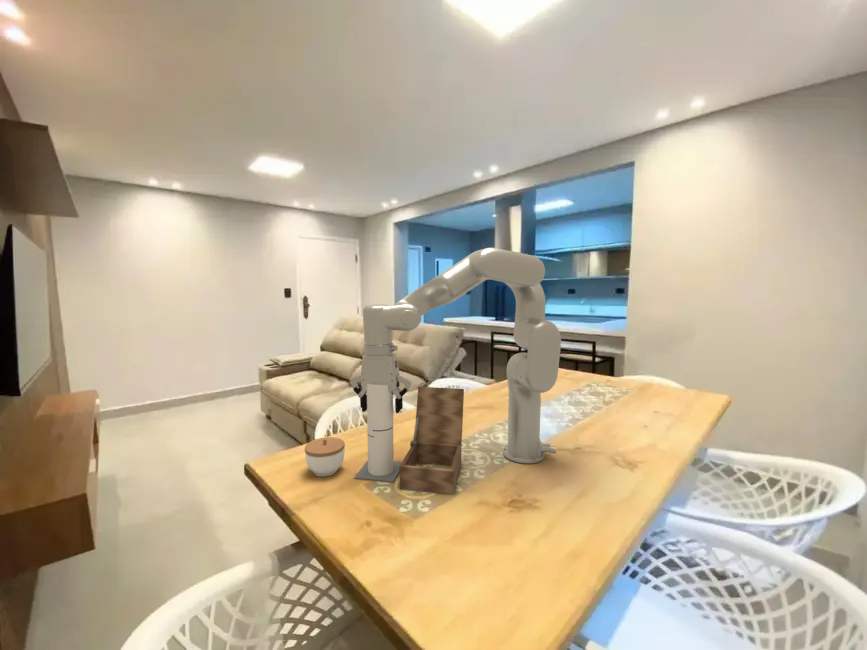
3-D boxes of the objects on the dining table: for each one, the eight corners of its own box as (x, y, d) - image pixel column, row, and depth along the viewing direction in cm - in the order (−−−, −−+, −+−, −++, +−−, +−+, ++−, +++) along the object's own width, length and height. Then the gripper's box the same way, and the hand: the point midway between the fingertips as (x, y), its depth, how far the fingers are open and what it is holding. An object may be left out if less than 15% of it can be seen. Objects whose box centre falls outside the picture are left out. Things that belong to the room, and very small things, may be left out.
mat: (404, 463, 109) (404, 462, 109) (393, 482, 98) (393, 481, 98) (368, 460, 111) (368, 459, 111) (354, 478, 100) (354, 477, 100)
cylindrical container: (389, 477, 100) (388, 386, 98) (364, 474, 102) (362, 385, 99) (396, 464, 107) (396, 380, 105) (373, 462, 109) (372, 378, 106)
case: (463, 455, 114) (464, 388, 112) (453, 494, 93) (454, 412, 91) (418, 451, 117) (417, 385, 115) (398, 488, 95) (397, 408, 93)
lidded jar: (304, 466, 107) (303, 435, 106) (341, 459, 112) (341, 429, 111) (307, 484, 98) (306, 450, 97) (348, 476, 102) (347, 443, 101)
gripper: (412, 347, 103) (415, 407, 105) (354, 347, 107) (357, 405, 108) (405, 352, 96) (408, 416, 98) (343, 352, 99) (346, 414, 101)
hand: (381, 410), depth 103 cm, fingers open, 9 cm apart
